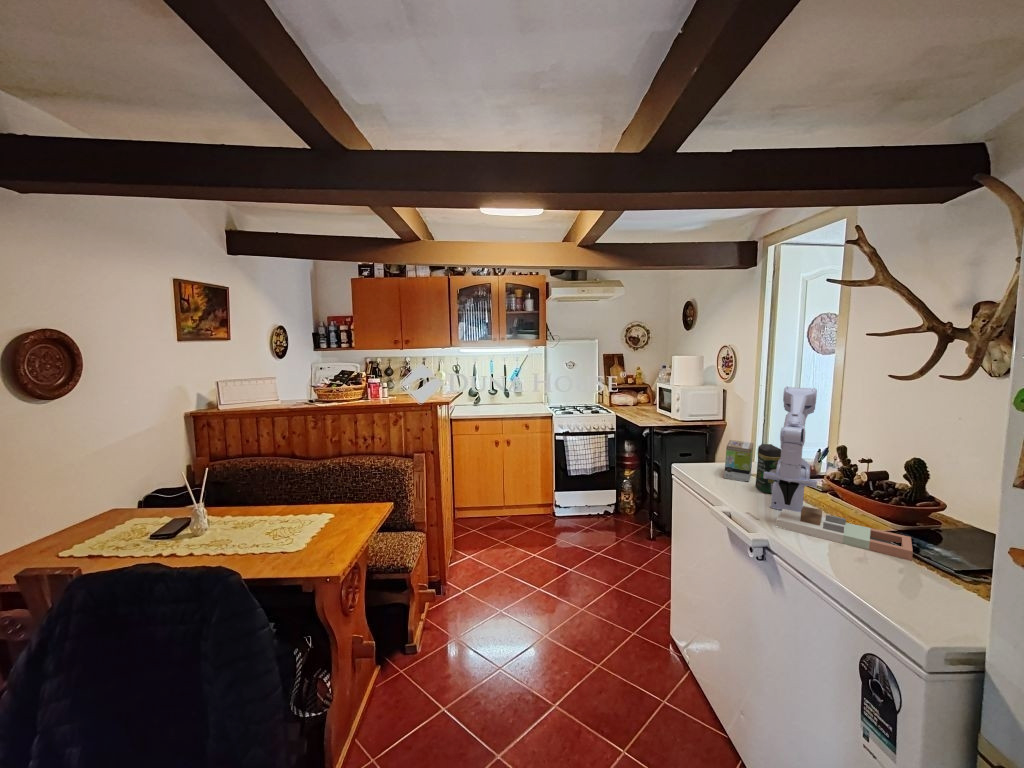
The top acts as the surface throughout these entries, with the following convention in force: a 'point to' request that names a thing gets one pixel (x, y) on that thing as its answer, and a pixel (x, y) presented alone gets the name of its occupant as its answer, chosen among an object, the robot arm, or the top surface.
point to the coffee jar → (767, 466)
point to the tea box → (738, 460)
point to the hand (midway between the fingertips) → (787, 504)
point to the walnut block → (811, 515)
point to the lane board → (848, 534)
